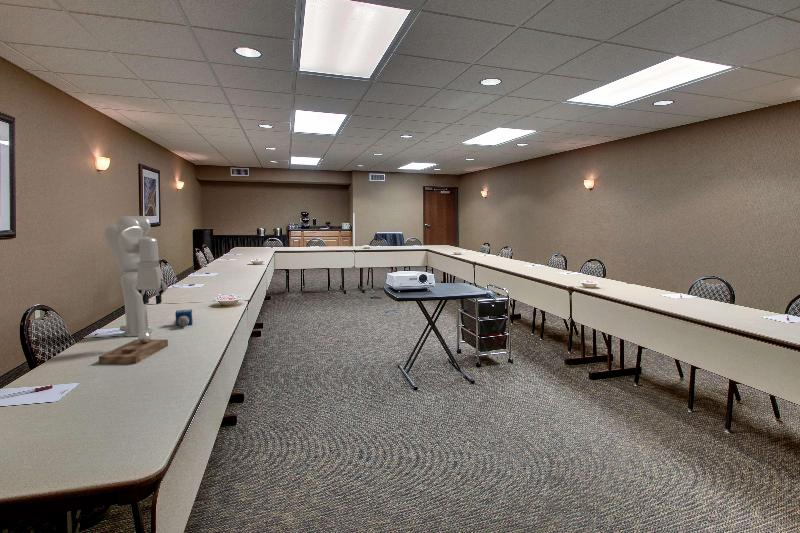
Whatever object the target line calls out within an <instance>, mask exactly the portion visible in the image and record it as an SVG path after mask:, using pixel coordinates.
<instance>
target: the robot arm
mask: <svg viewBox="0 0 800 533" xmlns="http://www.w3.org/2000/svg"><path fill="white" fill-rule="evenodd" d="M150 230H151V222H150V220H149V218H148V217H147V216H144V215H124V216H121V217H118V219H117V220H116V224H111V225H108V226H107V227H105V229H104V237H105V241H106V242H107V246H109V248H110V249H111V251H112V252H113V253H114V256H115V258H116V263H117V265H118V268H119V270H120V272H121V273H122V275H121V276H120V279H119V280H120V286H121V290H122V294H123V300H124V301H123V303H124V311H125V312H124V313H125V323H126V325H120V326H119V331H124V332H123V334H122V335H123V336H125V337H130V338H131V337H138V336H139V334H140V333H142V332H148V333H149V334H151V333H153V329H152V328H149V319H148V318H149V317H148V304H149V303H150V299H149V298H150V297H149V294H148V291H153V290H154V292H155V294H156V295H155V304H156V305H159V304H160V305H161V304H162V301H163V300H162V299H163V298H162V295H163V293H165V292H166V290H168V289H169V287H168V286H167V284H165V282H164V281H165V280H164V276H163V271H162V268H161V267H160V260H159V247H158V240H157V238H155V237H152V236H147V235H148V233H149V232H150Z"/></svg>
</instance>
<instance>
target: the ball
mask: <svg viewBox="0 0 800 533" xmlns="http://www.w3.org/2000/svg"><path fill="white" fill-rule="evenodd" d="M137 340H139V341H140V342H141V343H147V342H149V341H150V340H152V335H151V333H148V332H142V333H140V334H139V336H137Z"/></svg>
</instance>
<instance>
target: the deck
mask: <svg viewBox="0 0 800 533" xmlns="http://www.w3.org/2000/svg"><path fill="white" fill-rule="evenodd" d="M168 340H169V339H150V341H149V342H147V343H141V342H140V341H139V340H138V339H133V340H132V341H129V342H127V343H125V344H122V345H121V346H118V347H117V348H115V349H112V350H110V351H108V352H106V353H104V354H102V355H100V356H98V364H99V365H108V364H109V365H112V364H113V365H116V364H117V365H118V364H119V365H121V364H123V365H126V364H127V365H128V364H129V365H130V364H131V365H132V364H133V365H134V364H138V363H139V362H140V363H141V362H142V361H144V360H145V359H147V358H149V357H151V356H153V355H154V354H156V353H158V352H160V351H162V350H163V349H165V348H167V347H169V341H168ZM161 349H162V350H161ZM152 354H153V355H152ZM150 355H151V356H150ZM143 359H144V360H143ZM141 360H142V361H141Z"/></svg>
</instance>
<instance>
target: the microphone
mask: <svg viewBox="0 0 800 533" xmlns="http://www.w3.org/2000/svg"><path fill="white" fill-rule="evenodd" d="M193 320H194V319H193V309H181V310H175V327H176V328H178V327H177V326H181V327H188V326H187V325H191V326H193V322H194V321H193Z"/></svg>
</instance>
